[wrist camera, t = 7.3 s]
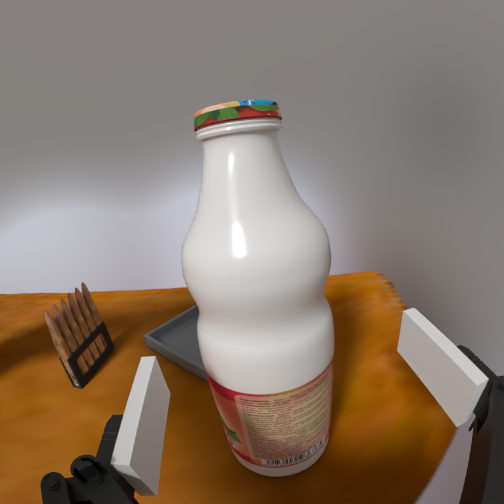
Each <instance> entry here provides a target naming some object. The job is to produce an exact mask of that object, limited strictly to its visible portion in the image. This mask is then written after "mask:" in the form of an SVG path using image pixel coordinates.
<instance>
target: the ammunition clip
mask: <svg viewBox="0 0 504 504" xmlns="http://www.w3.org/2000/svg"><path fill="white" fill-rule="evenodd" d="M82 293H83V297H84V299H83V297H82V295H81V293H80V291H79V290H78V289H77V288H75V296H76V301H77V303H76V301H75V300H74V298H73V296H72V295H71V294H70V293H68V301H69V305H70V309H71V311H72V314H71V311H70V309H69V307H68V305H67V304H66V302H65V301H64V300H63V299H61V307H62V311H63V315H64V317H65V320H66V322H65V321H64V318H63V316H62V314H61V312H60V311H59V309H58V308H57V307H56V306H55V305H53V311H54V316H55V319H56V322H57V325H58V328H59V330H60V332H59V330H58V328H57V326H56V324H55V322H54V320H53V319H52V317H51V316H50V314H49V313H48V312H47V311H45V317H46V322H47V325H48V328H49V330H50V333H51V336H52V339H53V342H54V345H55V347H56V349H57V351H58V353H59V355H60V358H59V359H60V361H61V363H62V365H63V367H64V369H65V371H66V373H67V375H68V377H69V379H70V381H71V383H72V385H73V387H76V388H81V389H83V387H84V386H85V385H86V384H87V382H88V381H89V380H90V378H91V377H92V376H93V374H94V373H95V372H96V371H97V369H98V368H99V367H100V365H101V364H102V363H103V362H104V360H105V359H106V358H107V356H108V355H109V354H110V353H111V351H112V350H113V349H114V344H113V342H112V340H111V338H110V335H109V333H108V331H107V329H106V326H105V324H104V322H103V321H101V319H100V316H99V313H98V311H97V308H96V306H95V304H94V303H93V300H92V298H91V295H90V293H89V291H88V289H87V287H86V286H85V284H84V283H82ZM84 300H85V301H84ZM77 304H78V306H77ZM78 307H79V308H78ZM72 315H73V316H72ZM66 323H67V324H66Z"/></svg>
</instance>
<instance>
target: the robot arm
mask: <svg viewBox="0 0 504 504" xmlns="http://www.w3.org/2000/svg"><path fill="white" fill-rule="evenodd" d="M397 351H398V352H399V353H400V355H401V356H402V357H403V358H404V360H405V361H406V362H407V363H408V364H409V366H410V367H411V368H412V369H413V371H414V372H415V373H416V374H417V376H418V377H419V378H420V380H421V381H422V382H423V383H424V385H425V386H426V387H427V388H428V390H429V391H430V392H431V394H432V395H433V396H434V397H435V399H436V400H437V401H438V403H439V404H440V405H441V407H442V408H443V409H444V411H445V412H446V413H447V415H448V416H449V417H450V419H451V420H452V421H453V423H454V424H455V425H456V427H458V426H460V425H461V424H463V423H465V422H467V421H468V420H469V419H470V416H471V415H472V413H474V414H475V415H476V417H475V419H474V421H473V423H472V424H471V426H470V428H469V431H471V429H472V428H473V436H472V444H471V451H470V457H469V463H468V468H467V473H466V478H465V483H464V487H463V492H462V495H461V499H460V503H459V504H504V376H499V377H498V376H496V375H495V374H494V373H493V372H492V371H491V370H490V369H489V368H488V367H487V366H486V365H485V364H484V363H483V362H482V361H480V359H479V358H478V357H477V356H475V355H474V353H472V352H471V351H470V350H469V349H468V348H466V347H464V346H461V345H459V346H457V347H456V346H455V345H454V344H453V343H452V342H451V341H450V340H449V339H448V338H446V336H444V335H443V334H442V333H441V332H440V331H439V330H438V329H437V328H436V327H435V326H434V325H433V324H431V323H430V322H429V321H428V320H427V319H426V318H425V317H424V316H423V315H422V314H420V313H419V312H418V311H417V310H416V309H415V308H412V309H408V310H405V311H403V316H402V323H401V330H400V337H399V343H398V349H397ZM170 395H171V394H170V391H169V389H168V386H167V384H166V382H165V379H164V377H163V374H162V372H161V369H160V366H159V364H158V361H157V359H156V356H149V357H141V361H140V364H139V367H138V370H137V373H136V376H135V379H134V382H133V385H132V389H131V392H130V395H129V398H128V402H127V405H126V408H125V412H124V415H113V416H112V417H111V418H110V419H109V420H108V422H107V423H106V426H105V429H104V433H103V436H102V440H101V442H100V445H99V449H98V452H97V455H96V457H94V456H92V455H82V456H79V457H77V458H76V459H75V460H74V461H73V463H72V464H71V468H70V470H71V474H72V475H73V476H74V477H71V478H64V477H63V476H62V475H61V474H60V473H57V472H51V473H48V474H46V475H45V476H44V477H43V479H42V481H41V493H42V500H43V504H139V503H138V501H137V500H136V499H135V498H134V492H135V491H136V492H137V493H138V494H139V495H140V496H153V497H157V494H158V484H159V475H160V466H161V458H162V450H163V442H164V435H165V428H166V421H167V414H168V407H169V401H170ZM473 426H474V427H473Z"/></svg>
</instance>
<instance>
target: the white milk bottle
mask: <svg viewBox="0 0 504 504" xmlns="http://www.w3.org/2000/svg"><path fill="white" fill-rule="evenodd" d="M281 119H282V118H281V113H280V110H279V106H278V104H277V103H276V102H274V101H268V100H244V101H235V102H228V103H223V104H218V105H214V106H211V107H207V108H205V109H202V110H200V111H198V112H196V113H195V116H194V130H195V131H196V134H197V140H198V141H200V142H201V143H202V145H203V151H204V160H203V172H202V180H201V187H200V194H199V199H198V205H197V209H196V213H195V216H194V219H193V222H192V223H191V226H190V228H189V230H188V232H187V234H186V237H185V239H184V242H183V246H182V250H181V265H182V271H183V277H184V280H185V283H186V285H187V288H188V290H189V292H190V294H191V295H192V297H193V299H194V300H195V302H196V304H197V306H198V308H199V318H198V323H197V336H198V342H199V348H200V353H201V357H202V361H203V364H204V367H205V370H206V373H207V377H208V380H209V383H210V386H211V390H212V393H213V396H214V399H215V402H216V406H217V409H218V412H219V415H220V418H221V421H222V424H223V427H224V430H225V433H226V435H227V438H228V441H229V444H230V447H231V449H232V452H233V453H234V455H235V457H236V458H237V459H238V461H239V462H240V463H241V464H242V465H243V466H245V467H246V468H248V469H249V470H251V471H253V472H255V473H258V474H261V475H265V476H272V477H282V476H289V475H293V474H296V473H299V472H301V471H303V470H305V469H307V468H309V467H310V466H311V465H313V464H314V463H315V462H316V461H317V460H318V459H319V458H320V456H321V455H322V454H323V452H324V450H325V448H326V445H327V443H328V439H329V431H330V419H331V405H332V388H333V364H334V324H333V316H332V311H331V308H330V305H329V303H328V301H327V299H326V297H325V287H326V283H327V280H328V276H329V271H330V266H331V251H330V243H329V238H328V235H327V232H326V230H325V228H324V226H323V224H322V223H321V221H320V220H319V219H318V217H317V216H316V215H315V214H314V213H313V211H312V210H311V209H310V208H309V207H308V206H307V205H306V204H305V202H304V201H303V200H302V199H301V197H300V195H299V194H298V192H297V190H296V188H295V186H294V184H293V182H292V179H291V177H290V175H289V172H288V170H287V167H286V165H285V163H284V160H283V157H282V154H281V150H280V147H279V142H278V132H279V131H280V130H281V128H282V126H281V121H280V120H281Z"/></svg>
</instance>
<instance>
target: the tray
mask: <svg viewBox="0 0 504 504" xmlns="http://www.w3.org/2000/svg"><path fill="white" fill-rule="evenodd" d="M198 318H199V308H198V306H197V304H196V305H194V306H192V307H191V308H189V309H187V310H186V311H184V312H182V313H181V314H179V315H177V316H176V317H174V318H172V319H171V320H169V321H167V322H166V323H164V324H162V325H160V326H159V327H157V328H155V329H154V330H152V331H150V332H149V333H147V334H145V335H143V337H144V340H145V343H146V345H147V347H149V348H150V349H152V350H154V351H155V352H157V353H158V354H160V355H162V356H163V357H165V358H167V359H168V360H170V361H172V362H173V363H175V364H177V365H178V366H180V367H182V368H184V369H185V370H187V371H189V372H191V373H192V374H194V375H196V376H198V377H200V378H201V379H203V380H205V381H207V382H209V380H208V377H207V373H206V370H205V367H204V364H203V361H202V357H201V353H200V348H199V342H198V336H197V323H198Z"/></svg>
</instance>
